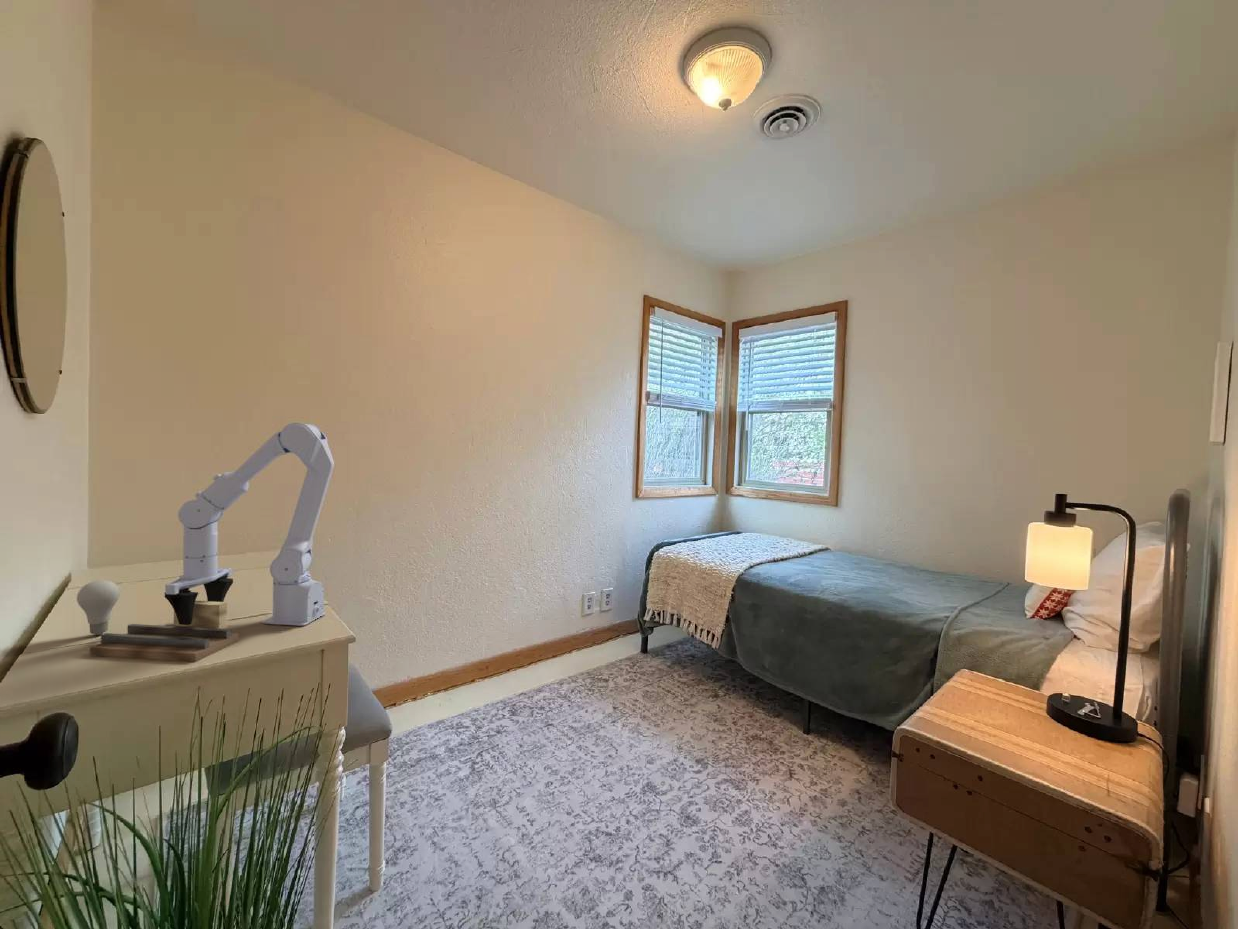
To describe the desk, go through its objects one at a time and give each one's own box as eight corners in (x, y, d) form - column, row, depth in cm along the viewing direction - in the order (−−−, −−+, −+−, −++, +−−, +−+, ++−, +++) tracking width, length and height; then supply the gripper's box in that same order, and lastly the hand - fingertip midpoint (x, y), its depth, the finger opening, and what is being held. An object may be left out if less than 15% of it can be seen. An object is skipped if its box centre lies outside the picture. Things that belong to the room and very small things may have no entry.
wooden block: (226, 625, 112) (226, 602, 112) (219, 628, 110) (219, 605, 110) (182, 622, 113) (182, 599, 112) (173, 625, 111) (173, 602, 110)
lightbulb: (92, 642, 100) (92, 586, 100) (68, 638, 102) (68, 583, 101) (128, 631, 106) (128, 578, 106) (104, 628, 108) (104, 575, 107)
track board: (238, 640, 104) (238, 625, 104) (195, 661, 94) (195, 645, 94) (142, 635, 105) (142, 620, 105) (89, 655, 95) (89, 639, 95)
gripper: (210, 547, 118) (210, 606, 119) (150, 562, 104) (150, 629, 104) (240, 549, 118) (240, 608, 119) (184, 563, 103) (184, 631, 104)
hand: (200, 618), depth 111 cm, fingers open, 7 cm apart
